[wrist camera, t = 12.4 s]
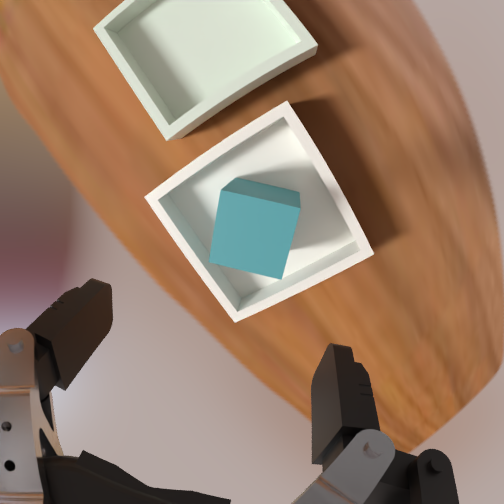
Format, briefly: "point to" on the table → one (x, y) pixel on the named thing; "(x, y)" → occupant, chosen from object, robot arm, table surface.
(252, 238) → the teal cube
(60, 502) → the robot arm
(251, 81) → the sage tray
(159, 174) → the table surface
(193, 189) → the cream tray
